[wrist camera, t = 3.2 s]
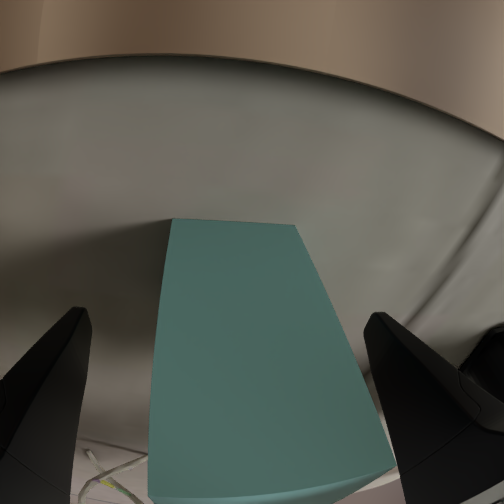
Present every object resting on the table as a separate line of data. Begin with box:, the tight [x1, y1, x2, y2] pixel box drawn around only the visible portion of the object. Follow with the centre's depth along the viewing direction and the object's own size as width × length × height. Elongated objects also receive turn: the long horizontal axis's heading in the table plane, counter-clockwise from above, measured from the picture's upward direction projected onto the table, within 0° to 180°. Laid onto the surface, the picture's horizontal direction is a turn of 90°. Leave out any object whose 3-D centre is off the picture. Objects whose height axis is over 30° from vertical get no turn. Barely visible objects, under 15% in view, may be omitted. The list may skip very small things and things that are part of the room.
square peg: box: [148, 219, 397, 504], centre depth 8 cm, size 4×4×8 cm
